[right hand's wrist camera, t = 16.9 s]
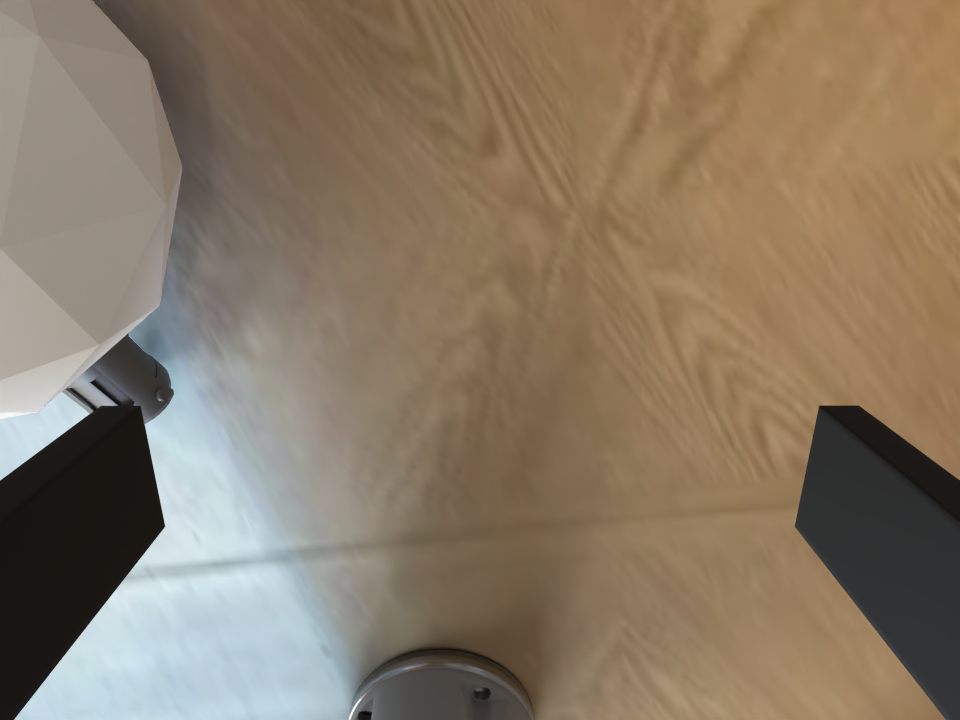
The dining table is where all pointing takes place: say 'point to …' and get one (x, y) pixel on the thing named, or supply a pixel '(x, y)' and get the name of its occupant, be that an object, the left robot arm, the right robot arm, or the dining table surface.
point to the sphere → (80, 210)
